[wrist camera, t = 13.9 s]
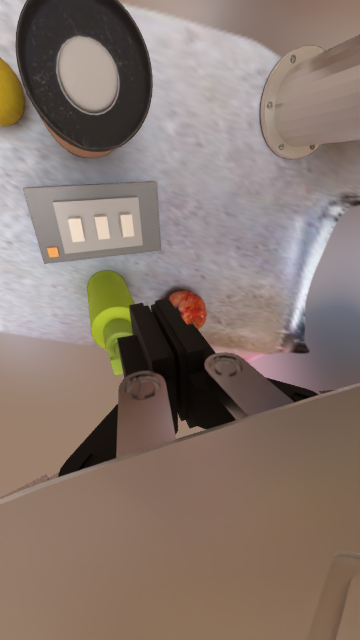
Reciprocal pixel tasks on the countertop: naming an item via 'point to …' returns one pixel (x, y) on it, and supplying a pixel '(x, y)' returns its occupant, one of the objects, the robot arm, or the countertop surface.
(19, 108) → the lemon
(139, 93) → the travel mug
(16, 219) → the countertop surface
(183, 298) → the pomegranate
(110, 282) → the soap dispenser
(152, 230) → the breaker panel
